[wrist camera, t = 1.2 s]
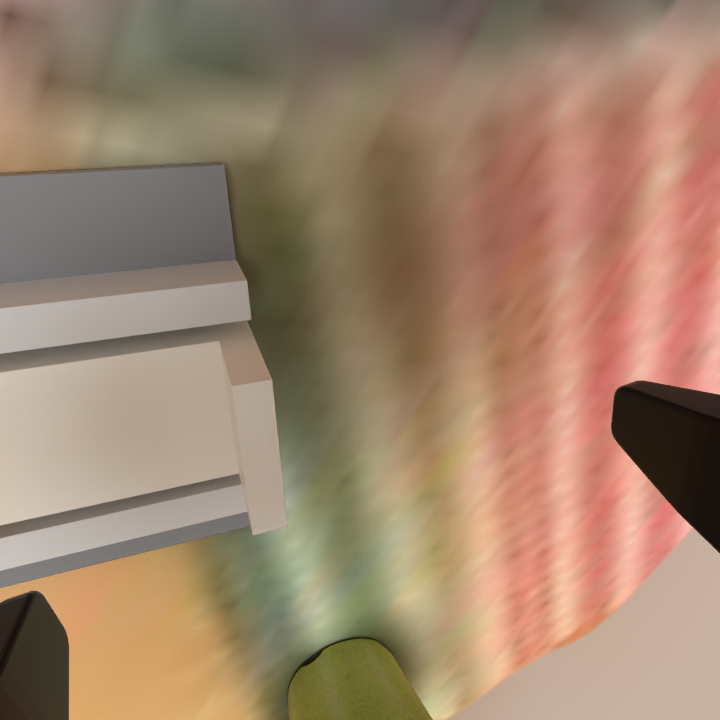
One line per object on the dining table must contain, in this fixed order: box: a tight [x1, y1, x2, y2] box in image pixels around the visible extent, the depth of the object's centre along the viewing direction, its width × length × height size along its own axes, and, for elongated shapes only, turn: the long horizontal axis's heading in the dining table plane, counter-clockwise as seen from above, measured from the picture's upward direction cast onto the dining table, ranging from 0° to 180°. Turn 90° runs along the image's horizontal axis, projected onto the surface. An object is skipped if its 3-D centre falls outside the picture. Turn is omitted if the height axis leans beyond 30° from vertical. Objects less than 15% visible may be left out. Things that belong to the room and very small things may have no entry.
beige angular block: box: [0, 320, 287, 535], centre depth 15 cm, size 8×5×5 cm, turn 92°
